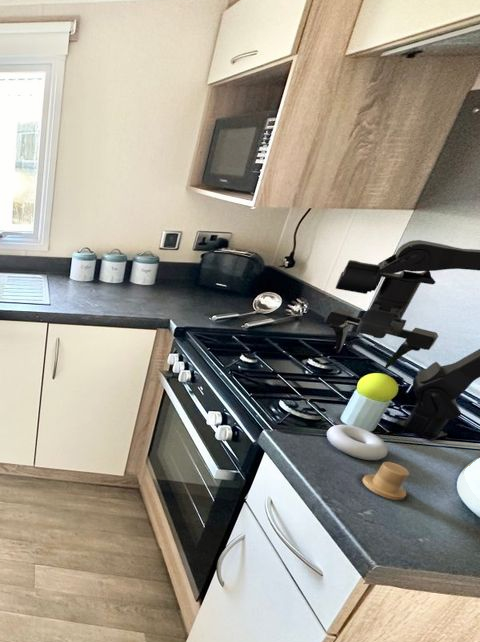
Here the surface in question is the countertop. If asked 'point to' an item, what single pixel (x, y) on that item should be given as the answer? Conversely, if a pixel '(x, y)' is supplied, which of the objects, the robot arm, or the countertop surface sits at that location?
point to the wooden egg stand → (387, 481)
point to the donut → (357, 442)
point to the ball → (377, 387)
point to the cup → (364, 412)
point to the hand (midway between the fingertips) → (360, 360)
